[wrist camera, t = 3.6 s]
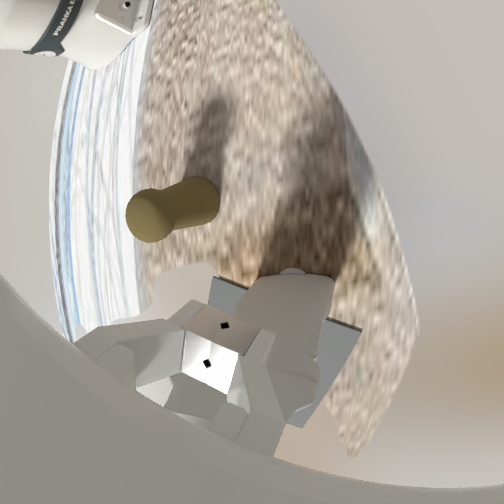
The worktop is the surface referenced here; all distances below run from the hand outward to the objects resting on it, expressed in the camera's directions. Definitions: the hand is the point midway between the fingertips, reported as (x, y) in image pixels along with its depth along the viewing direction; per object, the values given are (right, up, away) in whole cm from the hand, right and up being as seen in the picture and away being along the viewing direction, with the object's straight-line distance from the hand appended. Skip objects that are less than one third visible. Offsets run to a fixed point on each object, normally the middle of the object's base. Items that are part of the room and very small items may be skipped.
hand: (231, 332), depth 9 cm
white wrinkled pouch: (+6, -1, +24) cm, 25 cm away
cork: (-6, +9, +25) cm, 27 cm away
